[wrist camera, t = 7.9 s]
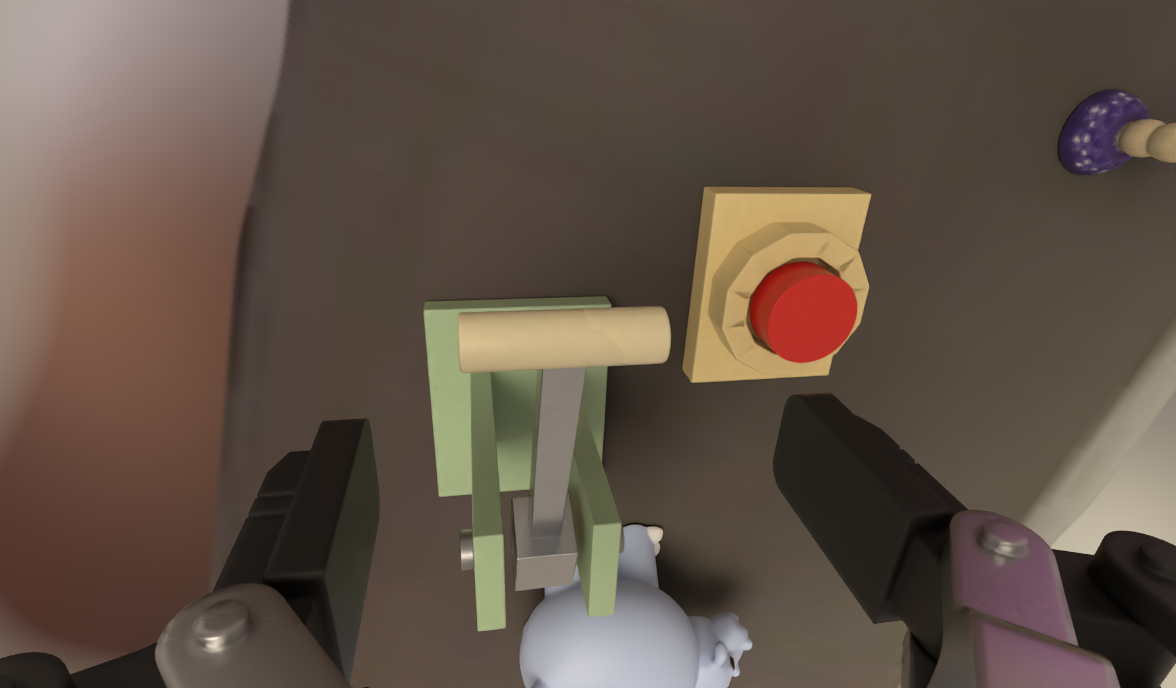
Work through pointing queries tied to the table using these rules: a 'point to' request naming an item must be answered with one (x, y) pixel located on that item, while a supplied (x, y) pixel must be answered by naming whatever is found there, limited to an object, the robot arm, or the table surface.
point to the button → (803, 311)
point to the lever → (556, 409)
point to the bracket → (515, 456)
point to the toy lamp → (1113, 134)
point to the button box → (765, 271)
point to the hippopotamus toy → (629, 633)
